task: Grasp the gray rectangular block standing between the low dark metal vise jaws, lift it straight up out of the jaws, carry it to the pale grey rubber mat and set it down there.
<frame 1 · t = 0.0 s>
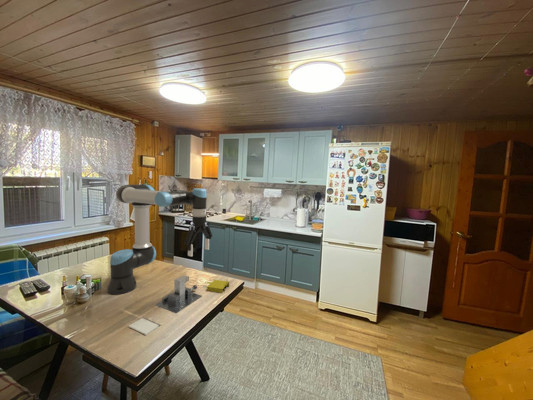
hand: (199, 252, 129), 28 cm above the table, fingers open, 13 cm apart
vise: (179, 301, 128), on the table
bracket: (215, 290, 145), on the table
mat: (152, 321, 110), on the table
gray rectangular block: (179, 300, 128), point 1 cm above the table, touching vise
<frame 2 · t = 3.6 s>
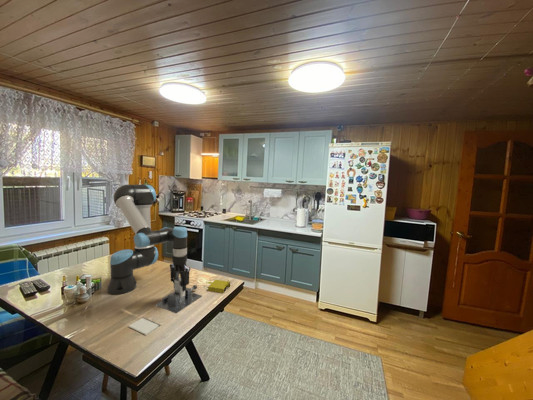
hand: (179, 294, 128), 4 cm above the table, fingers closed on gray rectangular block, 4 cm apart
gray rectangular block: (179, 300, 128), point 1 cm above the table, touching gripper, vise
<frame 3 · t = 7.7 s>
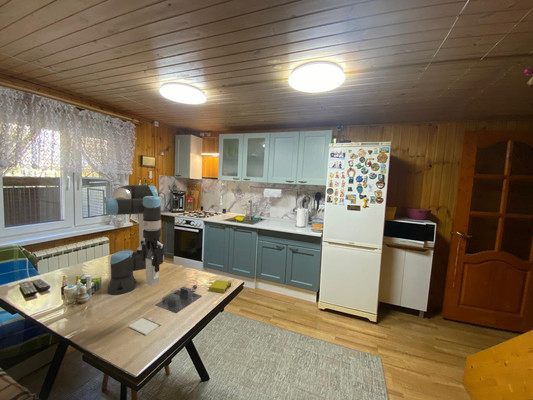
hand: (152, 276, 108), 23 cm above the table, fingers closed on gray rectangular block, 4 cm apart
gray rectangular block: (152, 283, 109), point 19 cm above the table, touching gripper
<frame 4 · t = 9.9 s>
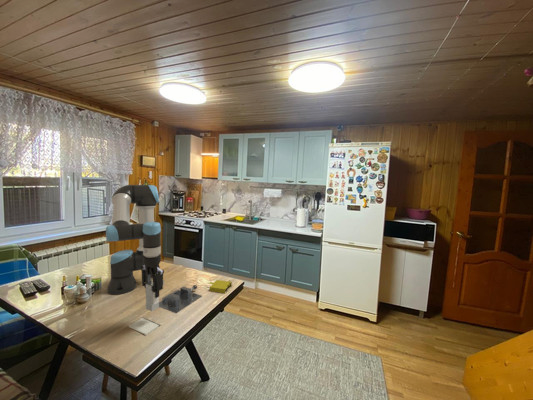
hand: (152, 301, 109), 10 cm above the table, fingers closed on gray rectangular block, 4 cm apart
gray rectangular block: (152, 308, 110), point 7 cm above the table, touching gripper
when the fingers open (5 cm above the table, at t = 11.6 s): gray rectangular block drops 1 cm, resting on mat.
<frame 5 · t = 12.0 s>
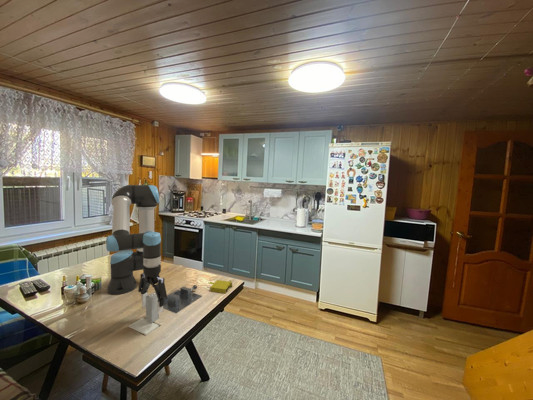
hand: (152, 309, 110), 6 cm above the table, fingers open, 10 cm apart
gray rectangular block: (152, 320, 110), point 1 cm above the table, touching mat
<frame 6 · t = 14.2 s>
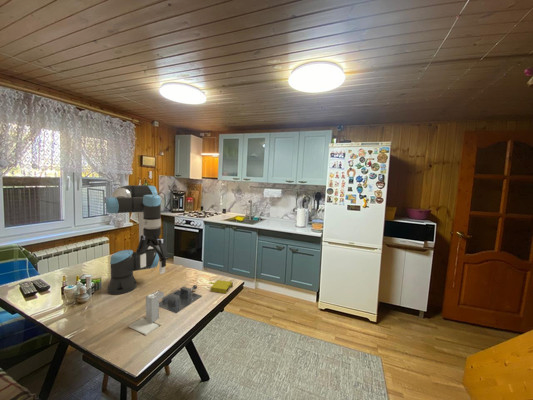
hand: (152, 270, 110), 25 cm above the table, fingers open, 13 cm apart
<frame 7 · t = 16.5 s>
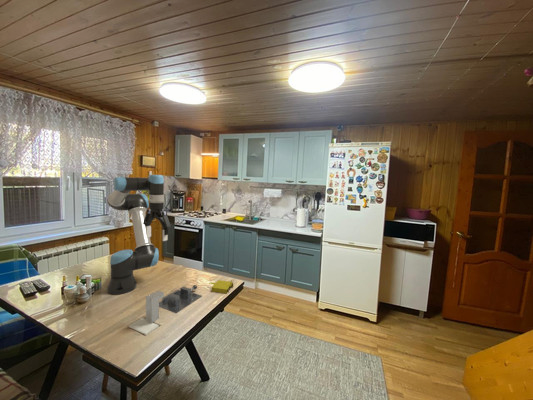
hand: (156, 238, 130), 35 cm above the table, fingers open, 13 cm apart
at the end: gray rectangular block inside the target area (0.1 cm from its centre), point 0.6 cm above the table; gray rectangular block touching mat; the gripper is holding nothing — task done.
